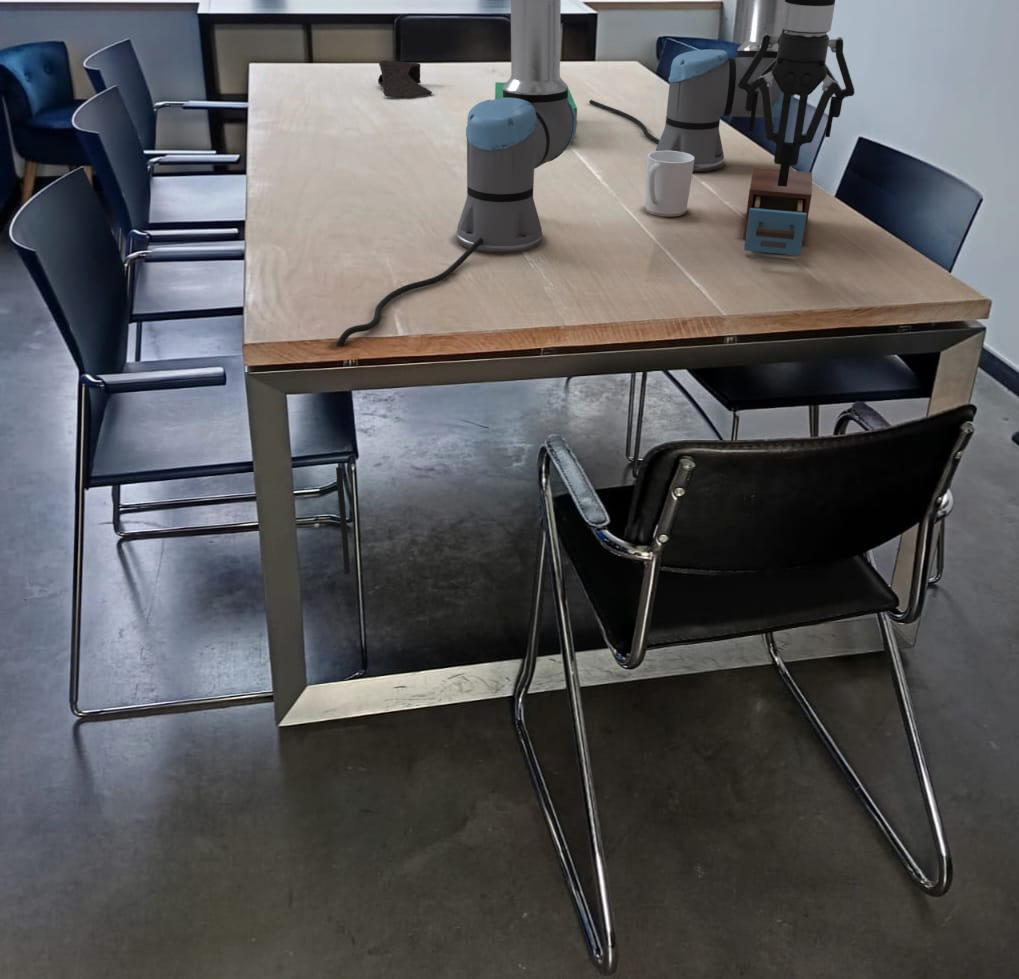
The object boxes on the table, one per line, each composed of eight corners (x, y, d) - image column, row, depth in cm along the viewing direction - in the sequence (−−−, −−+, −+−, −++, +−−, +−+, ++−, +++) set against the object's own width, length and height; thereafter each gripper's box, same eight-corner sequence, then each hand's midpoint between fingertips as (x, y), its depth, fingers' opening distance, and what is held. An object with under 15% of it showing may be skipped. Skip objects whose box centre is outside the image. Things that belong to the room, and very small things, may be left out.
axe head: (443, 87, 294) (392, 77, 287) (436, 115, 299) (385, 106, 292) (421, 62, 307) (371, 52, 300) (414, 89, 311) (365, 80, 304)
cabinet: (803, 244, 197) (811, 194, 193) (742, 238, 199) (749, 189, 195) (804, 219, 210) (812, 172, 205) (747, 214, 212) (753, 167, 207)
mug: (658, 200, 218) (663, 148, 212) (697, 210, 213) (703, 156, 208) (627, 213, 210) (631, 159, 205) (667, 223, 206) (672, 168, 200)
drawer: (799, 266, 185) (806, 224, 181) (742, 260, 187) (747, 218, 183) (801, 231, 201) (807, 192, 197) (748, 226, 203) (753, 187, 199)
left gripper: (847, 31, 172) (822, 181, 184) (763, 26, 174) (744, 174, 186) (848, 38, 165) (822, 193, 178) (761, 33, 168) (741, 186, 180)
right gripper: (882, 7, 189) (859, 132, 200) (736, -1, 194) (721, 122, 205) (884, 13, 183) (860, 142, 194) (733, 5, 187) (718, 131, 199)
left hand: (782, 183), depth 182 cm, fingers closed
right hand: (789, 132), depth 199 cm, fingers open, 13 cm apart
